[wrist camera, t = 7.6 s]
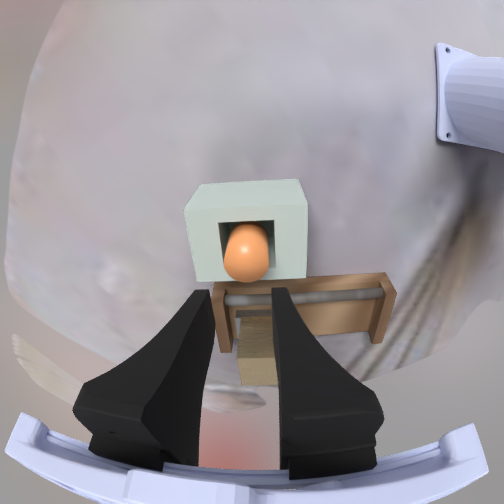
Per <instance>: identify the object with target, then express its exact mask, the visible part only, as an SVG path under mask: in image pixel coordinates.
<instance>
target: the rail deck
mask: <svg viewBox="0 0 504 504" xmlns="http://www.w3.org/2000/svg"><path fill="white" fill-rule="evenodd" d="M276 287H286V288H287V289H288V290H289V294H290V296H291V299H292V301H293V303H294V305H295V307H296V309H297V311H298V313H299V314H300V316H301V318H302V319H303V321H304V323H305V324H306V326H307V327H308V329H309V330H310V332H311V333H312V334H313V335H327V334H340V333H351V332H361V331H368V334H369V336H370V339H371V342H372V344H378V343H382V341H383V338H384V335H385V332H386V329H387V326H388V322H389V319H390V316H391V313H392V309H393V306H394V302H395V299H396V295H397V292H396V290H395V289H394V287H393V285H392V283H391V281H390V280H389V278H388V276H387V274H386V273H370V274H354V275H336V276H318V277H306V278H297V279H274V280H257V281H254V282H248V283H245V282H239V281H215V284H214V288H213V293H212V297H211V303H212V308H213V313H214V317H215V322H216V326H215V329H216V333H217V338H218V342H219V347H220V351H221V353H232V346H233V338H238V335H237V329H236V322H235V313H236V310H258V309H272V299H271V288H276Z"/></svg>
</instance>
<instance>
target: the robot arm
mask: <svg viewBox="0 0 504 504" xmlns="http://www.w3.org/2000/svg"><path fill="white" fill-rule="evenodd" d="M435 48H436V61H437V82H438V116H437V137H438V138H439V139H440V140H442V141H447V142H453V143H459V144H464V145H470V146H475V147H480V148H485V149H489V150H494V151H498V152H501V153H504V57H479V56H477V55H474V54H472V53H469V52H467V51H464V50H461V49H458V48H455V47H453V46H450V45H447V44H443V43H438V44H436V47H435ZM445 48H446V49H447V50H448V53H447V52H446V50H445ZM447 133H448V134H449V136H448V138H447V137H446V134H447ZM271 299H272V328H273V347H274V355H275V362H276V370H277V378H278V387H279V420H280V421H279V423H280V470H232V469H217V468H205V467H198V460H199V459H198V458H199V432H200V417H201V407H202V397H203V390H204V384H205V380H206V375H207V371H208V367H209V362H210V358H211V354H212V349H213V345H214V337H215V326H216V322H215V317H214V313H213V308H212V303H211V298H210V293H209V289H207V290H195V291H194V292H193V293H192V294H191V295H190V297H189V298H188V299H187V300H186V302H185V303H184V304H183V305H182V307H181V308H180V309H179V310H178V312H177V313H176V314H175V315H174V316H173V318H172V319H171V320H170V321H169V322H168V323H167V324H166V325H165V326H164V327H163V329H162V330H161V331H160V332H159V333H158V334H157V335H156V336H155V337H154V338H153V339H152V340H151V341H150V342H148V343H147V344H146V345H145V346H144V347H143V348H141V349H140V350H139V351H138V352H136V353H135V354H134V355H132V356H131V357H129V358H128V359H127V360H125V361H124V362H122V363H121V364H119V365H118V366H116V367H115V368H113V369H111V370H110V371H108V372H106V373H104V374H102V375H100V376H98V377H96V378H94V379H92V380H90V381H88V382H86V383H84V384H83V386H82V388H81V390H80V393H79V395H78V397H77V399H76V402H75V404H74V406H73V410H72V411H73V413H74V415H75V417H76V418H77V419H78V420H79V421H80V422H81V423H82V424H83V425H84V426H85V427H86V428H87V429H88V430H89V431H90V432H91V433H92V434H93V436H92V439H91V442H90V444H89V443H85V442H82V441H79V440H76V439H74V438H71V437H68V436H66V435H63V434H60V433H57V432H55V431H53V430H50V429H48V427H47V426H46V425H45V424H44V423H43V422H41V421H40V420H38V419H37V418H35V417H32V416H30V415H28V414H26V413H23V412H21V414H20V416H19V418H18V421H17V423H16V425H15V427H14V430H13V432H12V434H11V436H10V439H9V441H8V443H7V446H6V449H5V453H7V454H8V455H9V456H11V457H12V458H13V459H15V460H16V461H18V462H19V463H21V464H22V465H24V466H25V467H27V468H28V469H30V470H31V471H33V472H35V473H36V474H38V475H40V476H42V477H43V478H45V479H47V480H49V481H51V482H53V483H55V484H57V485H59V486H61V487H63V488H65V489H68V490H70V491H72V492H74V493H76V494H78V495H81V496H83V497H85V498H88V499H90V500H93V501H95V502H98V503H100V504H427V503H429V502H431V501H434V500H437V499H439V498H442V497H444V496H446V495H449V494H451V493H453V492H455V491H458V490H459V489H461V488H463V487H465V486H467V485H468V484H470V483H472V482H474V481H476V480H477V479H479V478H481V477H482V476H484V475H485V474H487V473H488V472H489V469H488V466H487V462H486V459H485V455H484V452H483V449H482V446H481V443H480V440H479V437H478V434H477V431H476V428H475V426H474V423H469V424H467V425H464V426H462V427H459V428H456V429H454V430H451V431H450V432H448V433H446V434H445V435H443V436H442V437H441V438H440V440H439V441H437V442H434V443H431V444H428V445H425V446H421V447H419V448H415V449H411V450H408V451H404V452H400V453H396V454H392V455H388V456H384V457H380V458H376V453H375V449H374V447H375V446H376V439H375V434H376V432H377V431H378V430H379V428H380V427H381V425H382V424H383V421H384V415H383V411H382V408H381V406H380V403H379V401H378V399H377V397H376V395H375V393H374V391H372V390H370V389H369V388H368V387H366V386H365V385H363V384H362V383H361V382H359V381H358V380H357V379H355V378H354V377H353V376H352V375H350V374H349V373H348V372H347V371H346V370H345V369H344V368H343V367H341V366H340V365H339V364H338V363H337V362H336V361H335V360H334V359H333V358H332V357H331V356H330V355H329V354H328V353H327V352H326V350H325V349H324V348H323V347H322V346H321V345H320V343H319V342H318V341H317V340H316V338H315V337H314V336H313V334H312V333H311V332H310V330H309V329H308V327H307V326H306V324H305V323H304V321H303V319H302V318H301V316H300V314H299V313H298V311H297V309H296V307H295V305H294V303H293V301H292V299H291V296H290V294H289V290H288V289H287V288H286V287H276V288H271ZM276 489H296V490H276Z"/></svg>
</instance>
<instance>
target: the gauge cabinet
mask: <svg viewBox="0 0 504 504" xmlns="http://www.w3.org/2000/svg"><path fill="white" fill-rule="evenodd" d="M183 211H184V216H185V222H186V227H187V233H188V238H189V243H190V248H191V254H192V259H193V264H194V268H195V273H196V278H197V282H212V281H237V280H235V279H233V278H231V277H230V276H229V275H228V274H227V272H226V271H225V268H224V257H225V253H226V248H227V244H228V239H229V235H230V232H231V229H232V228H233V227H234V226H235V225H236V224H237V223H239V222H241V221H255V222H258V223H260V224H261V225H262V226H263V227H264V228H265V229H266V231H267V234H268V254H269V267H268V270H267V272H266V274H265V275H264V276H263V277H262V278H261V279H259V280H274V279H297V278H306V266H307V231H308V203H307V200H306V198H305V195H304V193H303V190H302V188H301V185H300V183H299V180H298V179H278V180H256V181H239V182H224V183H211V184H201V185H200V186H199V188H198V189H197V191H196V192H195V194H194V195H193V197H192V198H191V200H190V201H189V203H188V204H187V206H186V207H185V209H184V210H183Z"/></svg>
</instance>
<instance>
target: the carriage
mask: <svg viewBox="0 0 504 504" xmlns="http://www.w3.org/2000/svg"><path fill="white" fill-rule="evenodd" d="M235 322H236V329H237V335H238V352H237V362H238V368H239V373H240V379H241V384H242V385H278V378H277V370H276V362H275V355H274V347H273V328H272V309H258V310H236V313H235Z"/></svg>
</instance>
